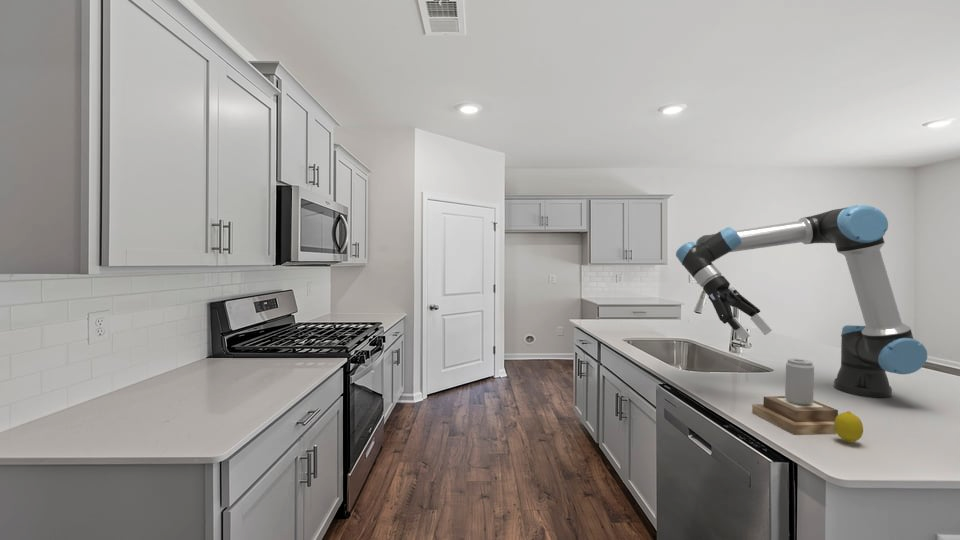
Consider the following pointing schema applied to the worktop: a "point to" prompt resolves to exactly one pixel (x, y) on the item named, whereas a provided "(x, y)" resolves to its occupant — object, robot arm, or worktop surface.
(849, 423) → the lemon
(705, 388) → the worktop surface
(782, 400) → the pedestal
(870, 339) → the robot arm
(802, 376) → the beverage can
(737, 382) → the worktop surface
